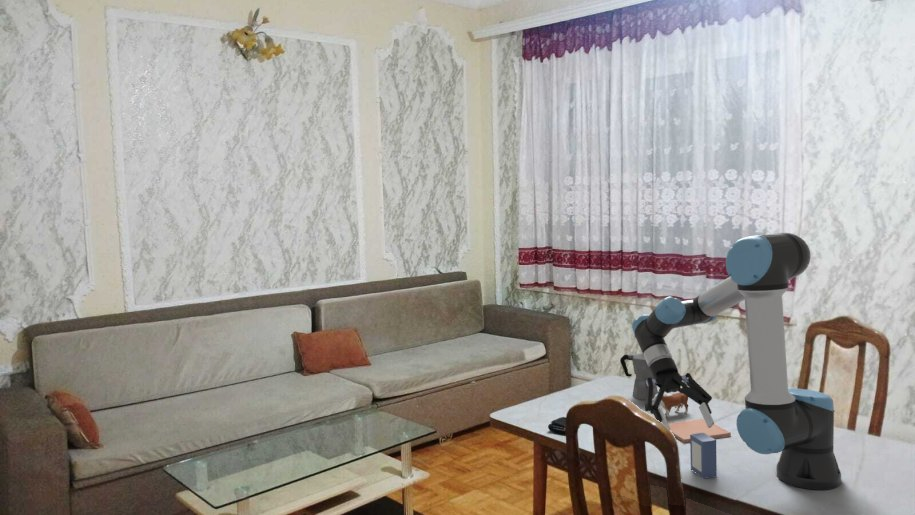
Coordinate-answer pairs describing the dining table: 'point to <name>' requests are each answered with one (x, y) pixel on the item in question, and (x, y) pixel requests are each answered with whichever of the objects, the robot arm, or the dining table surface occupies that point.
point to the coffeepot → (639, 375)
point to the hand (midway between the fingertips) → (689, 428)
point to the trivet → (696, 429)
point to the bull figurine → (673, 402)
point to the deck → (703, 455)
